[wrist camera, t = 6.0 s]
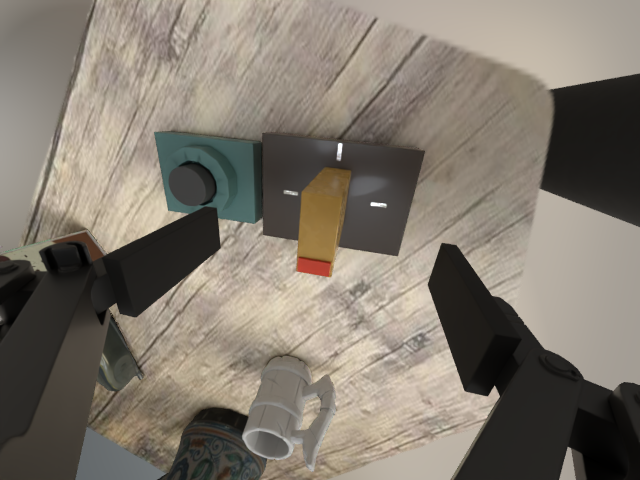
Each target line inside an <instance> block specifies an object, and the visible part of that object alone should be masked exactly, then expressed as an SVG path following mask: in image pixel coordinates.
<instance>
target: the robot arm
mask: <svg viewBox="0 0 640 480" xmlns="http://www.w3.org/2000/svg"><path fill="white" fill-rule="evenodd" d="M220 248H221V247H220V236H219V225H218V214H217V208H214V207H208V206H205V207H203V208H201V209H199V210H197V211H195V212H192V213H190V214H188V215H186V216H184V217H182V218H180V219H178V220H176V221H174V222H172V223H170V224H168V225H166V226H164V227H162V228H160V229H158V230H156V231H154V232H152V233H150V234H148V235H146V236H144V237H142V238H140V239H137V240H135V241H133V242H131V243H129V244H127V245H125V246H123V247H121V248H120V249H117V250H115V251H113V252H111V253H109V254H107V255H105V256H103V257H101V258H99V259H97V260H95V261H92V258H91V256H90V253H89V250H88V247H87V244H86V243H84V242H82V241H67V242H61V243H56V244H53V245H50V246H47V247H45V248H43V249H41V250H40V251H39V254H40V256H41V259H42V261H43V263H44V265H45V268H46V270H47V271H34V269H33V267H32V264H31V262H30V261H27V260H7V261H4V262H3V261H2V262H0V317H1V318H2V320H1V321H0V480H75V478H76V474H77V469H78V464H79V460H80V455H81V450H82V446H83V441H84V436H85V432H86V427H87V423H88V418H89V413H90V409H91V404H92V399H93V395H94V390H95V386H96V381H97V376H98V372H99V367H100V362H101V358H102V353H103V349H104V344H105V339H106V335H107V330H108V325H109V321H110V316H111V315H110V311H109V307H111V306H112V305H114V304H115V303H117V306H118V309H119V312H120V314H123V315H127V316H132V317H137V316H138V315H140V314H141V313H142V312H143V311H145V310H146V309H147V308H148V307H149V306H151V305H152V304H153V303H154V302H156V301H157V300H158V299H159V298H160V297H162V296H163V295H164V294H165V293H166V292H168V291H169V290H170V289H171V288H173V287H174V286H175V285H176V284H177V283H179V282H180V281H181V280H182V279H184V278H185V277H186V276H187V275H188V274H190V273H191V272H192V271H193V270H194V269H196V268H197V267H198V266H199V265H201V264H202V263H203V262H204V261H205V260H207V259H208V258H209V257H210V256H211V255H213V254H214V253H215V252H216V251H218V250H219V249H220ZM428 287H429V290H430V293H431V296H432V299H433V301H434V304H435V307H436V310H437V313H438V316H439V319H440V322H441V324H442V327H443V330H444V333H445V336H446V339H447V342H448V344H449V347H450V350H451V353H452V356H453V359H454V362H455V365H456V367H457V370H458V373H459V376H460V379H461V382H462V385H463V388H464V390H465V391H466V392H470V393H475V394H479V395H483V396H488V395H489V394H490V392H491V390H492V389H493V387H494V385H495V387H496V389H497V391H498V393H499V395H500V398H499V399H498V401H497V402H496V404H495V405H494V407H493V409H492V410H491V412H490V413H489V415H488V417H487V419H486V421H485V423H484V424H483V426H482V428H481V429H480V431H479V433H478V434H477V436H476V438H475V440H474V441H473V443H472V444H471V446H470V448H469V450H468V451H467V453H466V455H465V457H464V458H463V460H462V461H461V463H460V465H459V466H458V468H457V470H456V471H455V473H454V475H453V476H452V478H451V480H559V478H560V474H561V470H562V466H563V462H564V459H565V455H566V451H567V447H570V448H571V450H572V457H573V463H574V470H575V476H576V480H640V385H637V384H635V383H628V382H624V383H621V384H620V385H619V386H618V387H617V388H616V389H615V390H614V391H612V390H609V389H607V388H604V387H602V386H599V385H597V384H594V383H592V382H589V381H587V380H584V378H583V376H582V374H581V373H580V372H579V370H578V369H577V368H576V367H575V366H574V365H572V364H571V363H570V362H569V361H567V360H566V359H564V358H562V357H561V356H559V355H557V354H555V353H553V352H551V351H548V350H545V349H544V348H543V347H542V346H541V344H540V343H539V342H538V340H537V339H536V338H535V336H534V335H533V334H532V332H531V331H530V330H529V329H528V328H527V326H526V325H524V322H523V321H522V319H521V318H520V317H518V314H517V313H516V312H515V310H514V309H513V308H512V306H510V305H509V304H508V303H507V302H505V301H504V300H503V299H502V298H500V297H494V296H492V295H491V294H490V292H489V291H488V290H487V288H486V287H485V285H484V284H483V282H482V281H481V280H480V278H479V277H478V275H477V274H476V272H475V271H474V270H473V268H472V267H471V265H470V264H469V262H468V261H467V260H466V258H465V257H464V255H463V254H462V252H461V251H460V249H459V248H458V247H457V245H452V244H446V243H441V246H440V249H439V252H438V255H437V258H436V261H435V264H434V267H433V270H432V273H431V276H430V279H429V282H428Z"/></svg>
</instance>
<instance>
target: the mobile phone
mask: <svg viewBox="0 0 640 480" xmlns="http://www.w3.org/2000/svg"><path fill="white" fill-rule="evenodd" d="M134 376H138V378H139V379H140V380H141V379H143V375H142V374H141V372H140V370H139V369H138V367H137V365H136V363H135V361H134V359H133V357H132V355H131V353H130V351H129V349H128V347H127V345H126V343H125V341H124V338H123V336H122V334H121V333H120V331H119V329H118V327H117V325H116V323H115V321H114V319H113V318H112V317H111V316H110V321H109V325H108V330H107V335H106V339H105V344H104V349H103V353H102V358H101V362H100V367H99V372H98V376H97V381H98V382H99V384H101V385H102V386H104V387H105V388H106V389H107V390H109V391H119V390H121V389H123V388H124V387H125V386H126V385H127V384H128V383H129V382H130V380H131V379H132V378H133V377H134Z"/></svg>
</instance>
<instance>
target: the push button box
mask: <svg viewBox="0 0 640 480" xmlns="http://www.w3.org/2000/svg"><path fill="white" fill-rule="evenodd" d="M154 134H155V140H156V145H157V151H158V156H159V162H160V168H161V173H162V179H163V184H164V190H165V195H166V201H167V207H168V211H174V212H181V213H188V214H190V213H192V212H195V211H197V210H199V209H201V208H203V207H205V206H208V207H214V208H217V214H218V218H220V219H227V220H233V221H240V222H246V223H253V224H255V223H256V222H257V221H258V220H260V219H261V218H262V142H260V141H251V140H242V139H234V138H225V137H216V136H208V135H199V134H190V133H181V132H173V131H162V132H154ZM189 164H198V165H201V166H203V167H204V168H206V169H207V170H208V171H209V172H210V173H211V175H212V176H213V178H214V181H215V185H216V189H215V193H214V195H213V197H212V198H211V199H210V200H208V201H206V202H204V203H202V204H200V205H198V206H187V205H184V204H182V203H181V202H179V201H178V200H177V199H176V198H175V197H174V196H173V194H172V193H171V190H170V188H169V183H168V179H169V175H170V173H171V172H172V170H173V169H175V168H177V167H180V166H184V165H189Z"/></svg>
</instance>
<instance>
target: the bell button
mask: <svg viewBox="0 0 640 480" xmlns="http://www.w3.org/2000/svg"><path fill="white" fill-rule="evenodd" d="M168 183H169V188H170V190H171V193H172V194H173V196H174V197H175V198H176V199H177V200H178V201H179V202H181V203H182V204H184V205H187V206H198V205H200V204H202V203H204V202H206V201H208V200H210V199H211V198H212V197H213V195H214V193H215V189H216V185H215V181H214V178H213V176H212V175H211V173H210V172H209V171H208V170H207V169H206V168H204V167H203V166H201V165H198V164H189V165H184V166H180V167H177V168H175V169H173V170H172V172H171V173H170V175H169V179H168Z"/></svg>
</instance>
